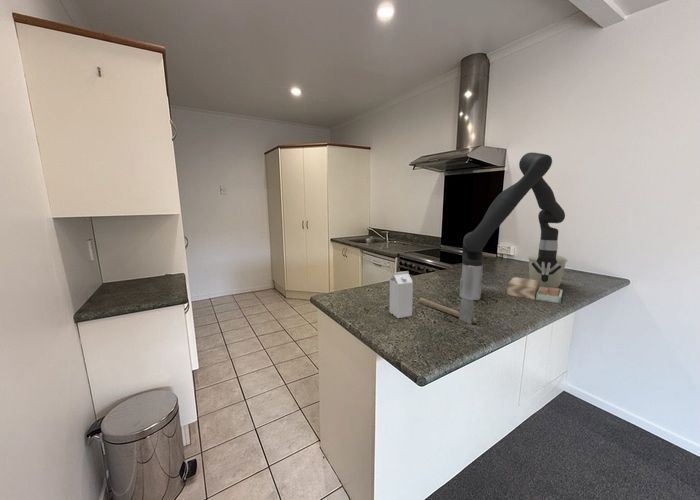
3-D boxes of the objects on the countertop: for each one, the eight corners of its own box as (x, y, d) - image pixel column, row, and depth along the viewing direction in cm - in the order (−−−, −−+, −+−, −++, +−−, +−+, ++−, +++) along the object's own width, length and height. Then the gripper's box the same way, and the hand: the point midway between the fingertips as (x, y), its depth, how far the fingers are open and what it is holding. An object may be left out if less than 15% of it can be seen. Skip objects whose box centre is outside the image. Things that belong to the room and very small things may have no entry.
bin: (535, 299, 133) (536, 293, 133) (539, 291, 145) (540, 286, 145) (560, 303, 127) (560, 297, 127) (561, 295, 139) (562, 289, 139)
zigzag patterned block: (507, 294, 141) (507, 283, 140) (512, 287, 153) (513, 277, 152) (534, 299, 133) (535, 287, 132) (538, 291, 145) (539, 280, 144)
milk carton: (389, 312, 119) (389, 270, 116) (403, 310, 122) (404, 269, 119) (397, 318, 113) (398, 274, 110) (412, 316, 115) (413, 272, 112)
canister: (531, 280, 166) (534, 246, 163) (568, 287, 152) (572, 250, 149) (520, 286, 155) (523, 250, 151) (559, 293, 141) (563, 254, 138)
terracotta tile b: (558, 290, 135) (558, 296, 135) (559, 288, 138) (558, 294, 139) (548, 289, 137) (548, 295, 138) (549, 287, 141) (549, 292, 141)
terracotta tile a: (540, 289, 134) (547, 290, 132) (541, 287, 138) (548, 288, 136) (539, 297, 135) (546, 298, 133) (540, 294, 139) (547, 295, 137)
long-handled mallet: (421, 303, 132) (477, 324, 107) (417, 303, 131) (473, 325, 106) (421, 284, 131) (478, 301, 106) (418, 284, 130) (475, 302, 104)
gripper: (531, 248, 138) (528, 281, 141) (564, 250, 130) (560, 285, 133) (533, 246, 144) (530, 278, 147) (564, 248, 136) (561, 282, 138)
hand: (544, 281), depth 140 cm, fingers closed
